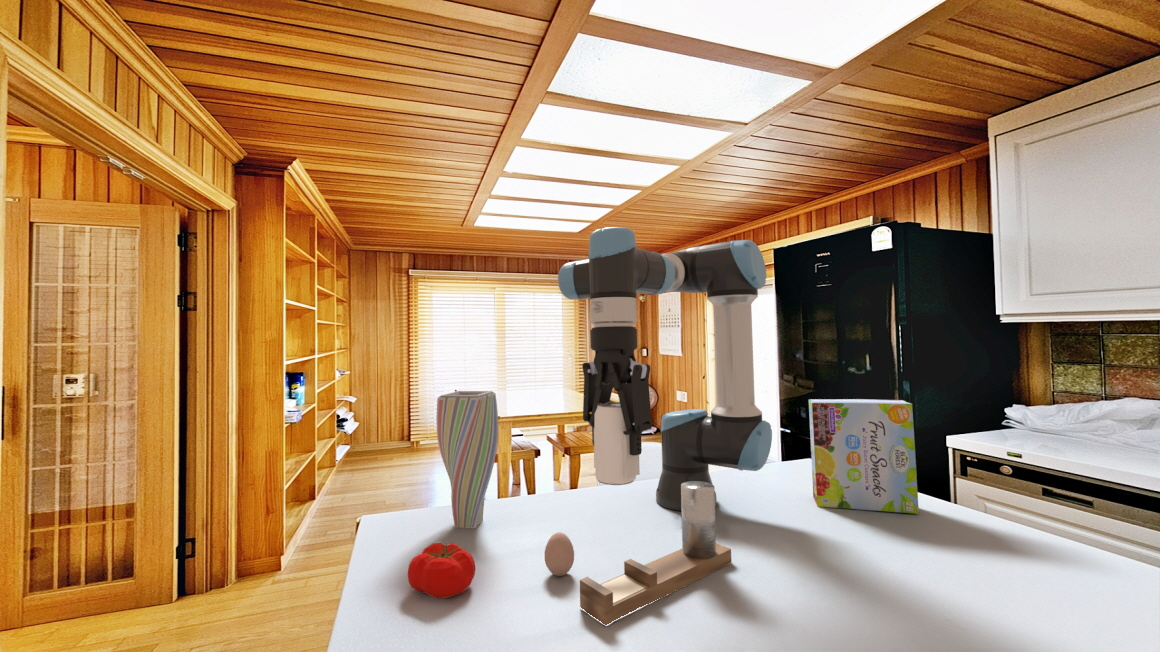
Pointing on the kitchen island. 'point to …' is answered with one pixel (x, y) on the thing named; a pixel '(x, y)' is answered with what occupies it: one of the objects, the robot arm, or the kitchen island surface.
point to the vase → (468, 449)
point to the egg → (559, 554)
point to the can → (610, 444)
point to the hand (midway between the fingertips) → (616, 470)
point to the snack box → (863, 454)
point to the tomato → (441, 570)
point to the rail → (646, 583)
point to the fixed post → (698, 520)
